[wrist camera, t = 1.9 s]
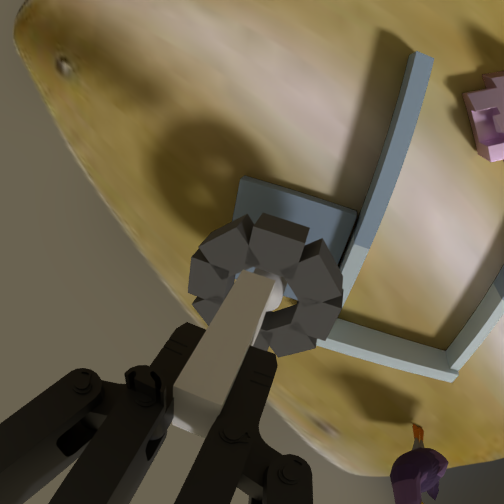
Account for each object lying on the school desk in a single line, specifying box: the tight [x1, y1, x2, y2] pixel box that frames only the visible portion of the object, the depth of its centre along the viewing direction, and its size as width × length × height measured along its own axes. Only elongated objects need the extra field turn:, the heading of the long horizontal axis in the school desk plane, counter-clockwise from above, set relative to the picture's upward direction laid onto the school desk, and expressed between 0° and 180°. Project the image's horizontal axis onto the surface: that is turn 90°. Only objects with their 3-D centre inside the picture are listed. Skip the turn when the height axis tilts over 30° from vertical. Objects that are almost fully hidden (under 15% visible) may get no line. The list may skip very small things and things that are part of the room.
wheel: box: [188, 213, 344, 357], centre depth 20 cm, size 10×10×2 cm
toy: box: [390, 424, 448, 504], centre depth 27 cm, size 11×12×7 cm
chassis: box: [232, 51, 504, 383], centre depth 19 cm, size 24×25×8 cm
